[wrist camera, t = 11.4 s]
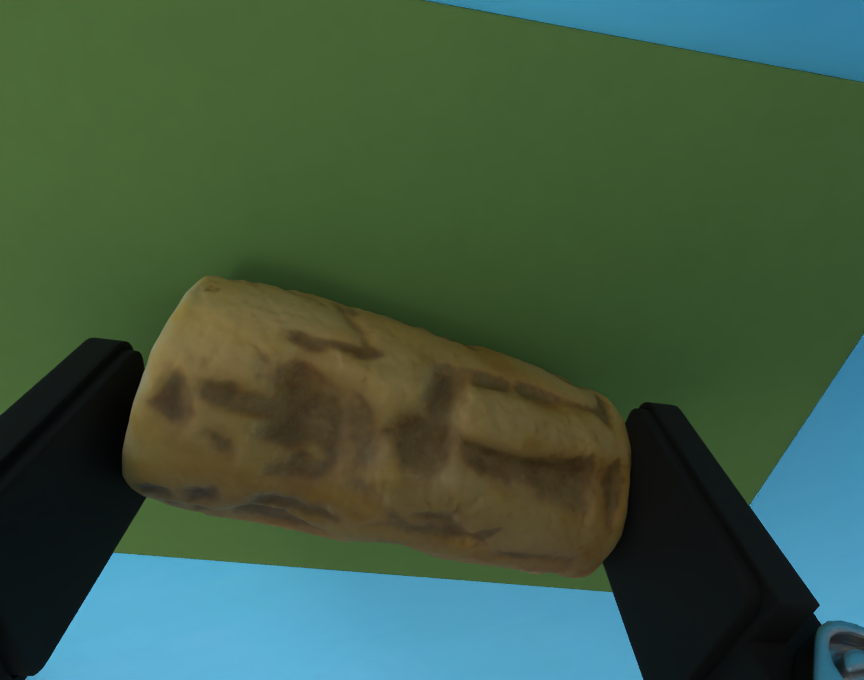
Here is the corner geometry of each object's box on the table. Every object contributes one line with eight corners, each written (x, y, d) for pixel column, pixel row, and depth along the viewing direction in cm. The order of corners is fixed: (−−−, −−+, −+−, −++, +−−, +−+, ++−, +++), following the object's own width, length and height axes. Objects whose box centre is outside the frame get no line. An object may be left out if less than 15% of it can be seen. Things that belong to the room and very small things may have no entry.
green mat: (985, 107, 9) (1015, 109, 9) (680, 583, 16) (688, 599, 16) (-241, -122, 7) (-283, -132, 7) (10, 529, 14) (-3, 544, 14)
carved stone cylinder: (607, 363, 11) (688, 506, 8) (521, 493, 13) (555, 654, 9) (226, 230, 10) (109, 330, 6) (194, 399, 11) (90, 549, 8)
